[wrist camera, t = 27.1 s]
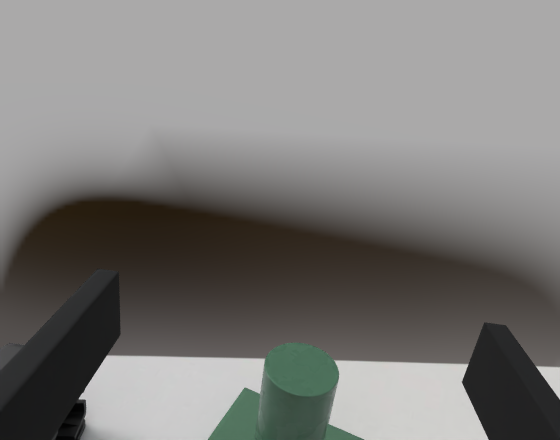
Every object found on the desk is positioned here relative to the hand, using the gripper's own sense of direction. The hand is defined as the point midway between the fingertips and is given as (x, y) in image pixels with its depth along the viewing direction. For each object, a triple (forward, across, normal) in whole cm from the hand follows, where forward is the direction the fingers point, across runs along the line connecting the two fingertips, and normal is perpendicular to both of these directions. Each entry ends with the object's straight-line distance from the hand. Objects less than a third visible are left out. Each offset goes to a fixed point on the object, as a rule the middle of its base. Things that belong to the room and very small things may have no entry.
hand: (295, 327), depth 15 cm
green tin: (+14, +2, -27) cm, 30 cm away
